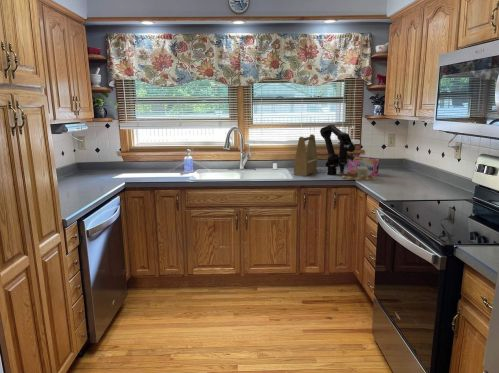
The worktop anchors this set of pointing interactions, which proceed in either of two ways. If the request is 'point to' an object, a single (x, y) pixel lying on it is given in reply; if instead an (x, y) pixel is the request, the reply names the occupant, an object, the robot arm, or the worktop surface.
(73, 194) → the worktop surface
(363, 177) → the board
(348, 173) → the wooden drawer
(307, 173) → the caddy
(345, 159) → the robot arm
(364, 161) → the gum box
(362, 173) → the tunnel
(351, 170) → the block
